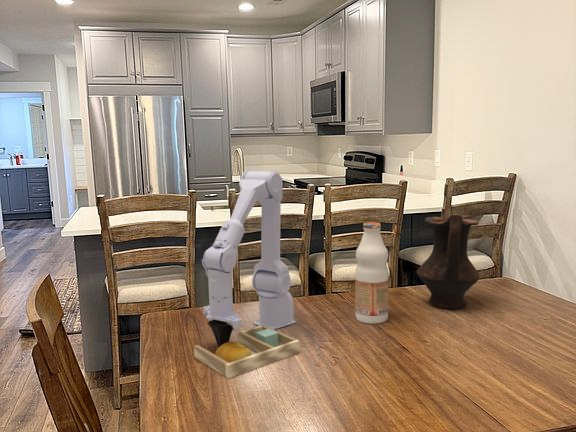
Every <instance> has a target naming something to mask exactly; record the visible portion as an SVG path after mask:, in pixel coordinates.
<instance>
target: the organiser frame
mask: <svg viewBox="0 0 576 432" xmlns="http://www.w3.org/2000/svg"><path fill="white" fill-rule="evenodd" d="M266 329H270V330H273V331H275V332H277V333H278V346H277V347H273V346H271V345H269V344H267V343H265V342H263V341H261V340H259V339H256V332H259V331H262V330H266ZM237 335H238V336H237V338H238V343H240V344H242V345H243V346H244V347H246V348H248V349H249V350H250V351H252V352H255V353H254V354H251V356H248V357H245V358H242V359H239V360H236V361H233V362H231V363H228V362H227V361H225V360H223V359H221V358H220V357H218V356H216V355H215V353H213V352H211V351H210V350H207V349H206V348H204V347H202V346H201V345H198V344H196V345H193V355H194V356H193V357H194V358H195V359H196V360H197V361H199V362H201V363H203V364H204V365H206V366H208V367H209V368H210V369H212V370H214V371H216V372H218V374H220V375H222V376H223V377H225V378H226V379H230V378H235V377H236V375H237V376H239V375H241V374H244V373H247V371H248V372H250V371H252V370H256V369H259V368H261V367H264V366H266V365H269V364H272V363H274V362H277V361H280V360H283V359H285V358H288V357H290V356H291V357H292V356H293V355H297V354H299V353H301V341H300V340H299V339H297V338H294V337H292V336H290V335H288V334H285V333H284V332H281V331H278V330H276V329H272V328H269V327H267V326H265V325H261V326H258V325H257V326H256V327H255V326H254V327H251V328H249V329H248V328H247V329H245V330H241V331H238V333H237Z"/></svg>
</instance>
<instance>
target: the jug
mask: <svg viewBox="0 0 576 432" xmlns="http://www.w3.org/2000/svg"><path fill="white" fill-rule="evenodd" d="M424 222H426V223H427V224H430V225H431V226H432V227H431V228H432V237H433V241H432V244H433V245H432V246H433V247H432V248H433V249H432V251H431V253H430V255H429V256H428V257H427V258H426V260H425V261H424V262H423V263H421V265H420V266H419V268H418V269H417V270H416V275H417V277H418V278H419V279H420V280H421V282H422V283H423V284H424V285H425V286H426V288H427V289H428V291H429V292H430V294H431V296H430V298H429V300H428V303H430V305H432V306H435V307H437V308H441V309H447V310H460V309H461V310H462V309H464V308H466V307H467V305H468V302H467V300H466V299H465V298H464V296H465V294H466V293H467V292H468V290H470V289H471V288H472V287H473V286H475V284H477V283H478V281H479V279H480V274H479V272H478V270H477V269H476V267H475V266H474V264H473V262H471V260H470V259H469V255H468V241H469V236H470V235H469V233H470V230H471V227H472V226H478V225H479V221H478V220H476V219H471V218H469V219H468V218H463V216H462V214H459V213H452V214H450V216H448V217H447V216H427V217H425V218H424Z"/></svg>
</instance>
